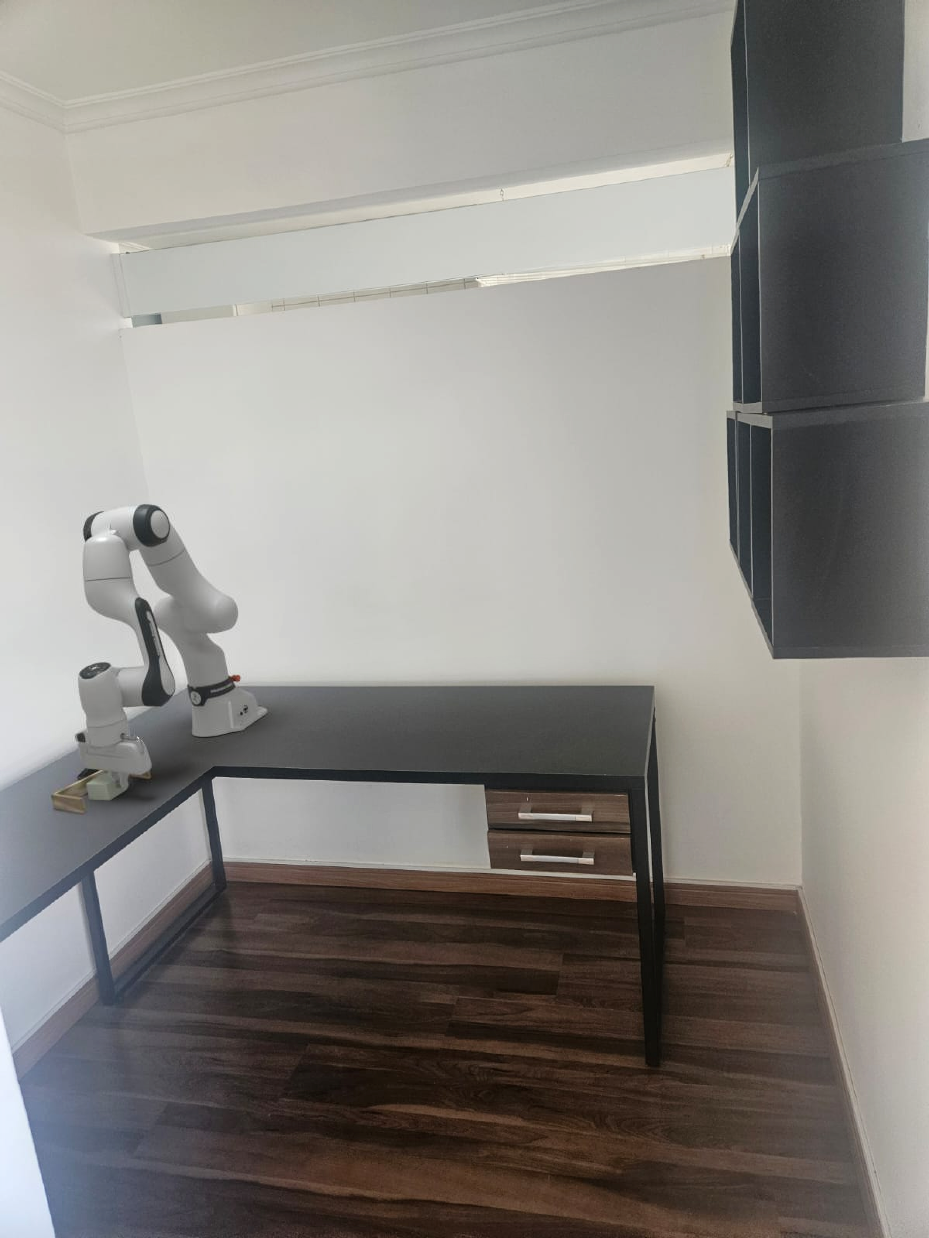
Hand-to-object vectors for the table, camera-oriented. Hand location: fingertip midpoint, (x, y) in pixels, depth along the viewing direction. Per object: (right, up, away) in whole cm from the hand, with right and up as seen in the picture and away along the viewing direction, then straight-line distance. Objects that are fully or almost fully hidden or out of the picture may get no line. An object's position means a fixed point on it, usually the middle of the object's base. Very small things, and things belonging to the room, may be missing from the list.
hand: (121, 787), depth 204 cm
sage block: (-4, -2, +2) cm, 5 cm away
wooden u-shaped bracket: (-6, -2, +4) cm, 7 cm away
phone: (-13, +1, +21) cm, 25 cm away
